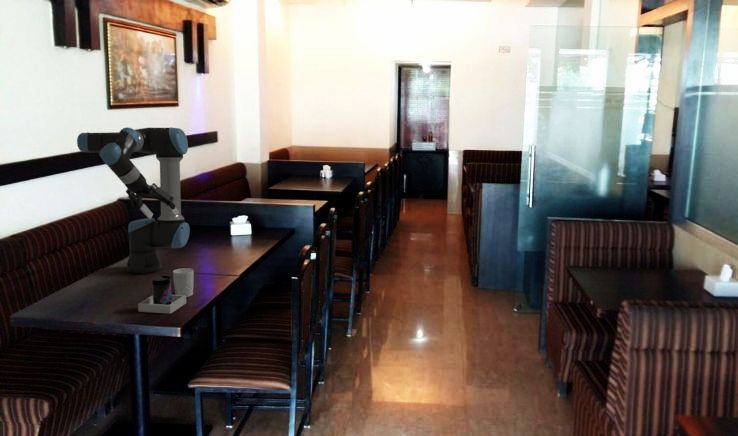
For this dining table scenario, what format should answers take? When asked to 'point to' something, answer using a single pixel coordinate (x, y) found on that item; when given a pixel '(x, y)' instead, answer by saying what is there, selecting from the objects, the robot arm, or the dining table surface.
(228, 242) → the dining table surface
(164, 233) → the robot arm
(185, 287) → the white cup
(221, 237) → the dining table surface
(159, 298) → the supplement container
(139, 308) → the tray
